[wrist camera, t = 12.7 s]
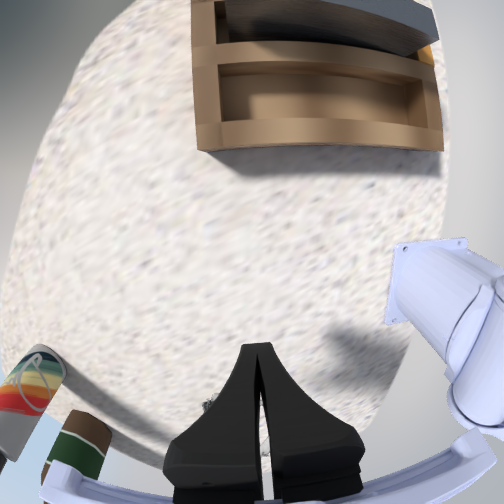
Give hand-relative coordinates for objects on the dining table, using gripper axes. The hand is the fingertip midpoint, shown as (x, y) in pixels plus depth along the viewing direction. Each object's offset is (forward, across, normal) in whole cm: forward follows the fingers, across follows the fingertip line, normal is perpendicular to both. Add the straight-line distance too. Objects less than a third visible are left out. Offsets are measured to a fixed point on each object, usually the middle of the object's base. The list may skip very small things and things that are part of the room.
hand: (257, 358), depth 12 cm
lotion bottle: (+10, +26, +10) cm, 29 cm away
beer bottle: (+10, +26, +23) cm, 36 cm away
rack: (+9, -6, -18) cm, 22 cm away
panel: (+9, -6, -18) cm, 21 cm away
